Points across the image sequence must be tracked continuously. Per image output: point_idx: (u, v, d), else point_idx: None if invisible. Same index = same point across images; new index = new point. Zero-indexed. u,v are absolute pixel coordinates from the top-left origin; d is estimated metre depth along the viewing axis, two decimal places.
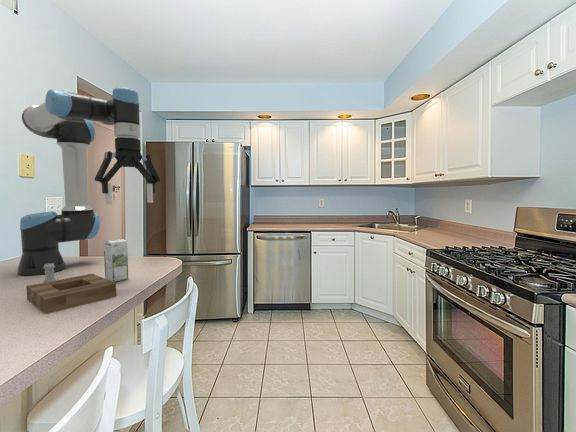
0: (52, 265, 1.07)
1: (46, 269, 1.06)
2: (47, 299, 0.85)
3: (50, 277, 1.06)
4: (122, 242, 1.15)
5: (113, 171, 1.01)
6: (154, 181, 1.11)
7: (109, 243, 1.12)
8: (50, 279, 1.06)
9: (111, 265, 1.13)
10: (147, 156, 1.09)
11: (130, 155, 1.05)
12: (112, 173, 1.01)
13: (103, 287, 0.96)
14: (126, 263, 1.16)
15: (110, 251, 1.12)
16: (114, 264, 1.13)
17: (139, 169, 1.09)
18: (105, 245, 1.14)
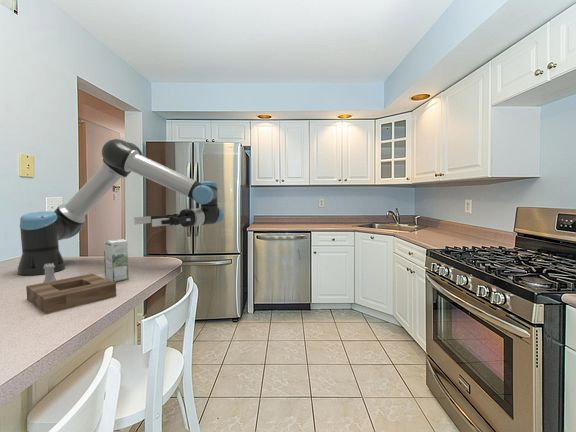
0: (52, 265, 1.07)
1: (46, 269, 1.06)
2: (47, 299, 0.85)
3: (50, 277, 1.06)
4: (122, 242, 1.15)
5: None
6: (151, 222, 1.34)
7: (109, 243, 1.12)
8: (50, 279, 1.06)
9: (111, 265, 1.13)
10: None
11: None
12: None
13: (103, 287, 0.96)
14: (126, 263, 1.16)
15: (110, 251, 1.12)
16: (114, 264, 1.13)
17: None
18: (105, 245, 1.14)
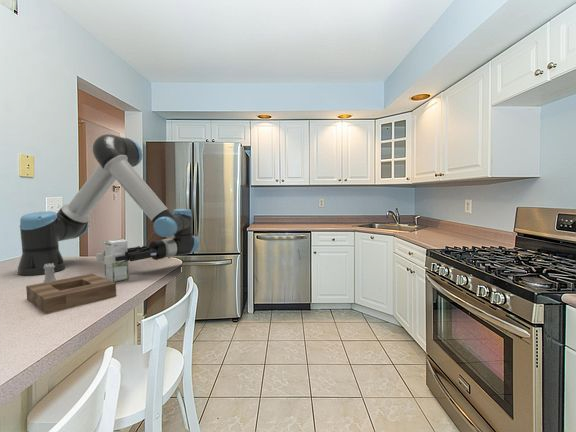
0: (52, 265, 1.07)
1: (46, 269, 1.06)
2: (47, 299, 0.85)
3: (50, 277, 1.06)
4: (122, 242, 1.15)
5: None
6: None
7: (109, 243, 1.12)
8: (50, 279, 1.06)
9: (111, 265, 1.13)
10: None
11: None
12: None
13: (103, 287, 0.96)
14: (126, 263, 1.16)
15: (110, 251, 1.12)
16: (114, 264, 1.13)
17: None
18: (105, 245, 1.14)
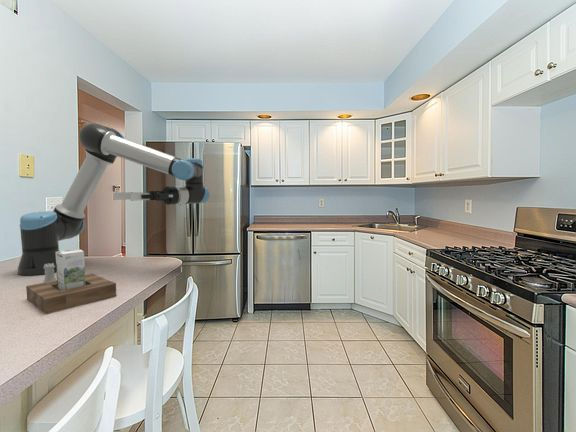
0: (52, 265, 1.07)
1: (46, 269, 1.06)
2: (47, 299, 0.85)
3: (50, 277, 1.06)
4: (77, 253, 0.96)
5: None
6: None
7: (60, 254, 0.93)
8: (50, 279, 1.06)
9: (63, 281, 0.94)
10: None
11: None
12: None
13: (103, 287, 0.96)
14: (83, 278, 0.97)
15: (61, 264, 0.93)
16: (66, 280, 0.94)
17: None
18: (57, 256, 0.95)
